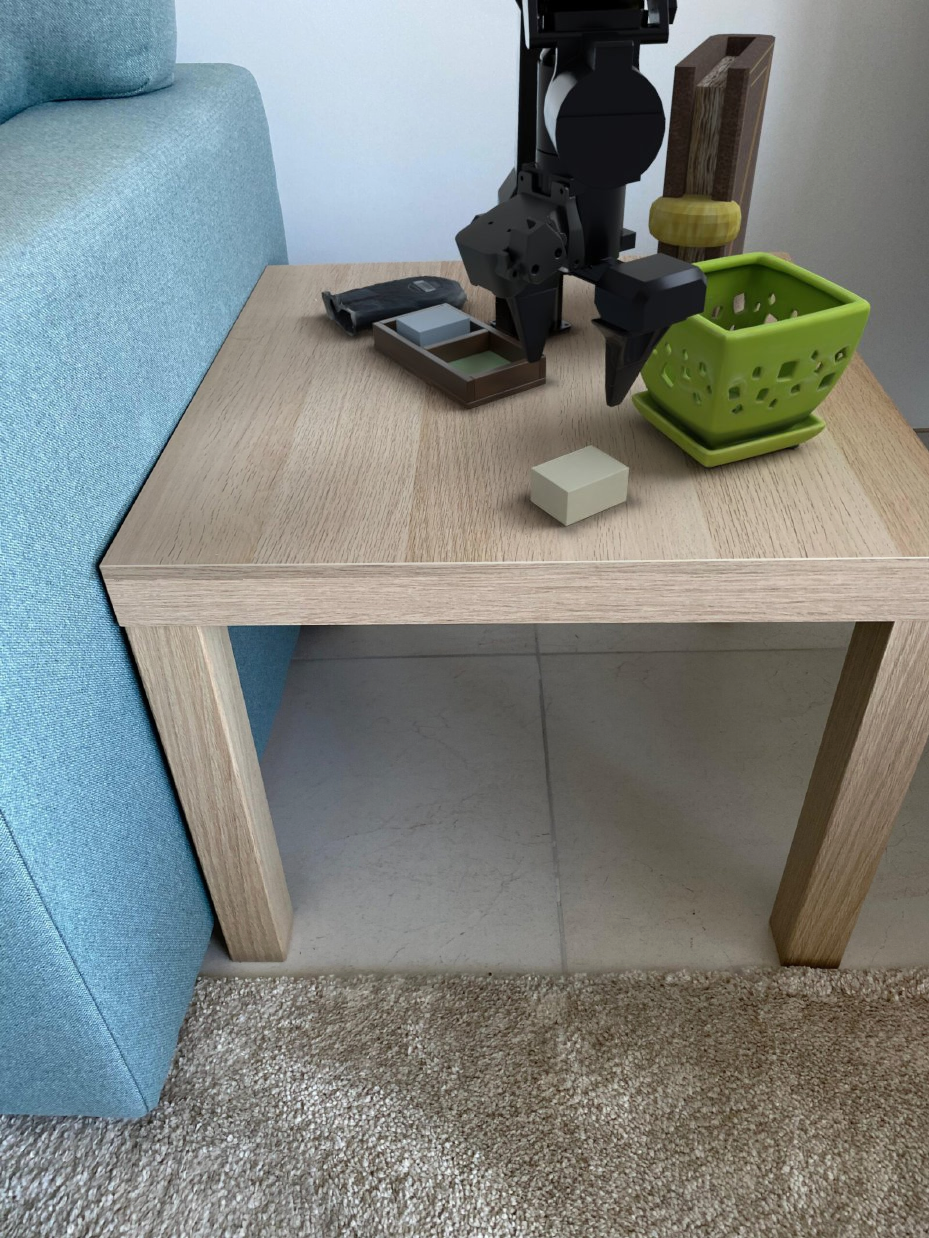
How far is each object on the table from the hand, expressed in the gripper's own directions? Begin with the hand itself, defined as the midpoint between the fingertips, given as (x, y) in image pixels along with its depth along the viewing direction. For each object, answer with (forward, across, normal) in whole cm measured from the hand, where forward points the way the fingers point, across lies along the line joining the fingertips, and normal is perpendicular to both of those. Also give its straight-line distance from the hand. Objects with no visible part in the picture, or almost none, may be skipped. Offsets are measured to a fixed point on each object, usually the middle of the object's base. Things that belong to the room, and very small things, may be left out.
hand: (571, 382), depth 68 cm
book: (+10, -20, +34) cm, 41 cm away
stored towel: (+9, -30, +7) cm, 32 cm away
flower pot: (+10, 0, +17) cm, 20 cm away
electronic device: (+10, -41, +9) cm, 43 cm away
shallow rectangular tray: (+10, -26, +7) cm, 29 cm away
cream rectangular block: (+10, +1, 0) cm, 10 cm away
